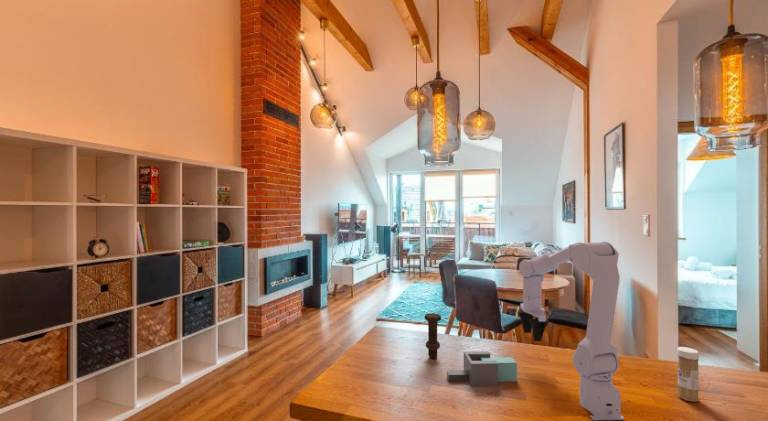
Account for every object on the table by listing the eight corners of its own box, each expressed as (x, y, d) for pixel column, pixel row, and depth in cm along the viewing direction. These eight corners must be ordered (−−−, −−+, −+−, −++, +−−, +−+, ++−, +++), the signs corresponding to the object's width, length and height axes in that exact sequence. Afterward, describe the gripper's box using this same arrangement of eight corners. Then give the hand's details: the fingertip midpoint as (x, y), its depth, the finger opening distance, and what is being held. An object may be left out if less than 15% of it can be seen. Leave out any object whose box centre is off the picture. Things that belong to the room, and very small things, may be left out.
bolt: (441, 355, 126) (441, 313, 126) (441, 361, 121) (440, 317, 121) (425, 354, 127) (424, 312, 127) (424, 360, 122) (424, 316, 122)
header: (498, 385, 104) (498, 363, 104) (451, 386, 104) (451, 364, 104) (488, 371, 113) (488, 351, 113) (445, 372, 113) (445, 351, 113)
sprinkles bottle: (673, 394, 99) (672, 346, 99) (687, 393, 100) (687, 345, 100) (688, 403, 95) (688, 353, 95) (703, 402, 95) (703, 352, 95)
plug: (517, 381, 107) (517, 362, 107) (484, 381, 107) (484, 362, 107) (512, 375, 111) (512, 357, 111) (480, 375, 111) (480, 357, 111)
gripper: (555, 301, 110) (555, 344, 110) (534, 290, 125) (534, 329, 125) (533, 301, 110) (533, 344, 110) (514, 290, 124) (514, 329, 124)
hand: (532, 336), depth 117 cm, fingers open, 7 cm apart
